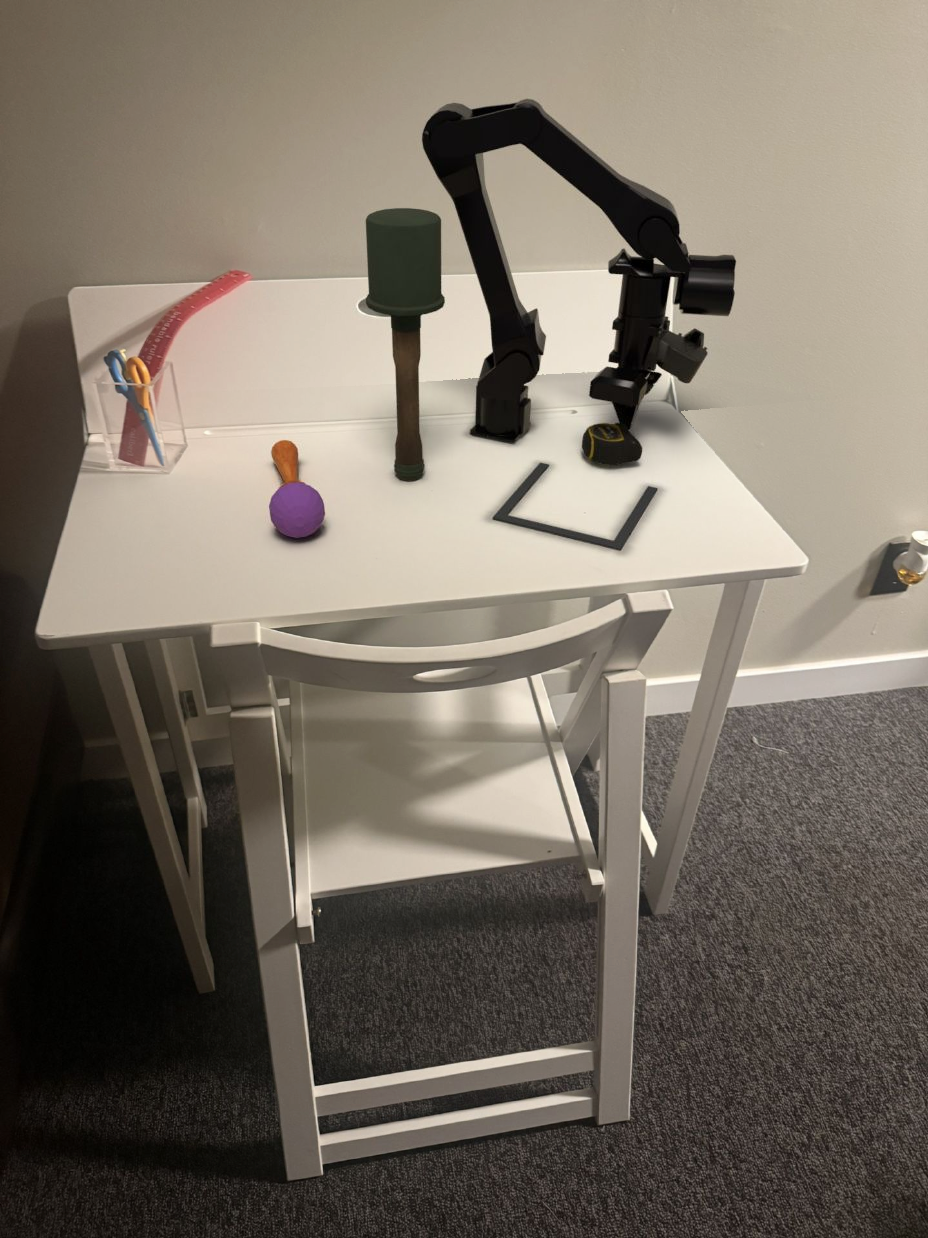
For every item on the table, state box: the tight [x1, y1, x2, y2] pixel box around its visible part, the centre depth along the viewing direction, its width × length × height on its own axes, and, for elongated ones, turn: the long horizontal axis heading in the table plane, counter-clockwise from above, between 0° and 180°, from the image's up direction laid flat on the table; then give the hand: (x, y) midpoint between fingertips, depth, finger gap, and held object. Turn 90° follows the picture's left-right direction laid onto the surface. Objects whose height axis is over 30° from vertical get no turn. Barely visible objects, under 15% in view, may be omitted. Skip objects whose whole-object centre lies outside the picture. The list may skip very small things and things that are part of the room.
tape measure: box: [581, 422, 643, 467], centre depth 115 cm, size 7×7×4 cm
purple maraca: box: [268, 439, 326, 539], centre depth 104 cm, size 6×6×20 cm
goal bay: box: [492, 462, 658, 551], centre depth 106 cm, size 15×15×1 cm
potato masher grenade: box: [365, 207, 446, 482], centre depth 102 cm, size 8×9×30 cm
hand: (626, 428), depth 120 cm, fingers closed
